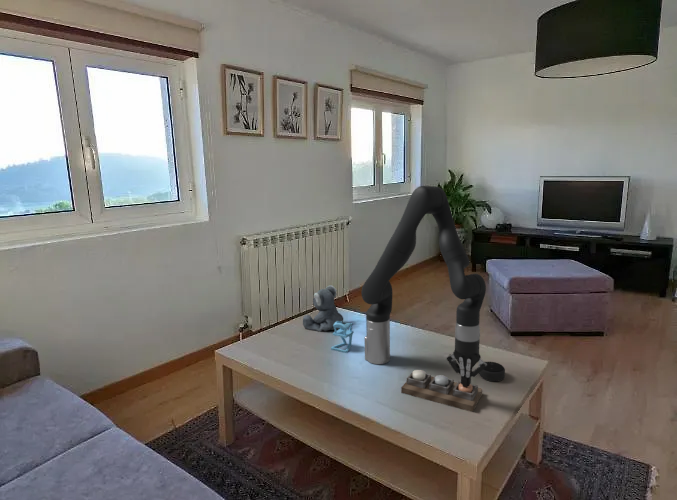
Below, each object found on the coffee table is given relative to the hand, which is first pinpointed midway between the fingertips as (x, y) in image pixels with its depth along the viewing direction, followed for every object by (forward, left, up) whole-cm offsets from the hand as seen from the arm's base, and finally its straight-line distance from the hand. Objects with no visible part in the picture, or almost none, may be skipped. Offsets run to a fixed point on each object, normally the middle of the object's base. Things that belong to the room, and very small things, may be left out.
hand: (465, 386), depth 140 cm
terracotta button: (0, 0, -2) cm, 2 cm away
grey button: (-8, 0, -1) cm, 8 cm away
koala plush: (-76, +33, -5) cm, 83 cm away
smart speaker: (+4, +20, -5) cm, 21 cm away
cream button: (-16, 0, -1) cm, 16 cm away
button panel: (-8, 0, -5) cm, 9 cm away
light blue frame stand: (-56, +16, -5) cm, 59 cm away
